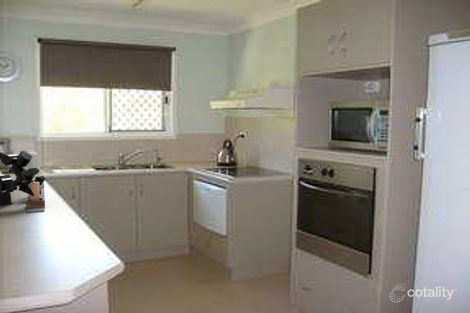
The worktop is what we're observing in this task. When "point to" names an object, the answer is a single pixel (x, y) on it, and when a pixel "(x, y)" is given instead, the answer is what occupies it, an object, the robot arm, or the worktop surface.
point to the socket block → (35, 203)
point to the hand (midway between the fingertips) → (37, 194)
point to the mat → (35, 210)
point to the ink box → (40, 189)
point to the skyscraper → (34, 162)
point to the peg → (35, 191)
